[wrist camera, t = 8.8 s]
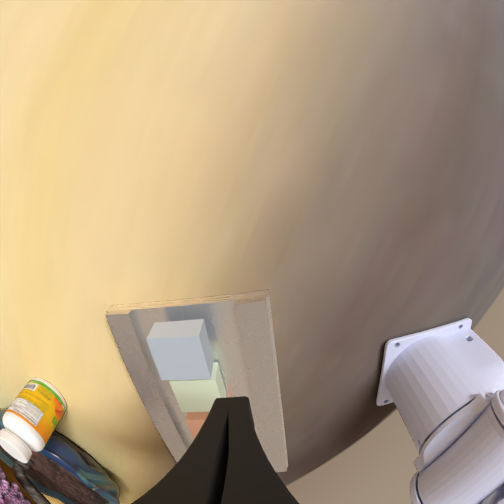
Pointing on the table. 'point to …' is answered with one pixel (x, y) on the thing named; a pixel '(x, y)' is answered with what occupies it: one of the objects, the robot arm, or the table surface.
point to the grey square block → (181, 350)
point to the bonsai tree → (57, 475)
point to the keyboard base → (224, 352)
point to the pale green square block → (199, 391)
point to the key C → (195, 421)
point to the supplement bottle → (31, 419)
